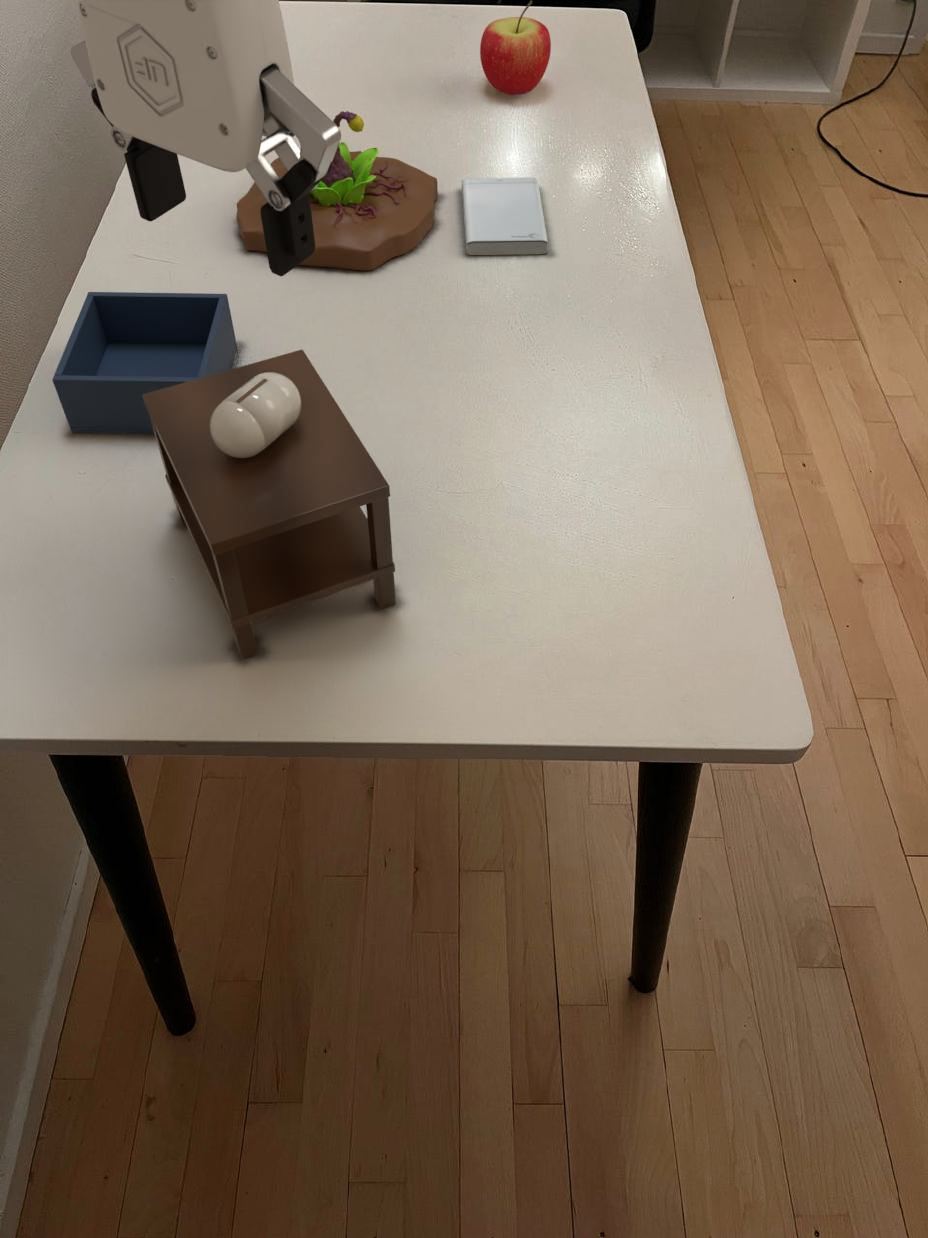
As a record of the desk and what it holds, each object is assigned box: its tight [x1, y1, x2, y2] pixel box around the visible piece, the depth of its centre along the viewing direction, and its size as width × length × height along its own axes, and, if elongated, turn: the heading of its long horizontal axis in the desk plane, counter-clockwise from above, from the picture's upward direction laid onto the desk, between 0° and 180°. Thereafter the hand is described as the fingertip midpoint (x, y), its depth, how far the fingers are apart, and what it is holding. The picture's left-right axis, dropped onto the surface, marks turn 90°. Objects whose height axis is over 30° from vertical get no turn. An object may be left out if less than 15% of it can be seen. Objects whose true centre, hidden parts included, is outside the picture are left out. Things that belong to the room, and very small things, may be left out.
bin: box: [51, 291, 238, 435], centre depth 91 cm, size 12×12×6 cm
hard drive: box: [461, 177, 549, 256], centre depth 110 cm, size 2×8×12 cm
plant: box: [236, 110, 439, 272], centre depth 107 cm, size 20×20×11 cm
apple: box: [479, 0, 552, 96], centre depth 126 cm, size 8×8×10 cm
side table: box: [142, 349, 397, 660], centre depth 76 cm, size 12×16×12 cm
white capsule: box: [210, 372, 301, 458], centre depth 70 cm, size 7×4×4 cm, turn 146°
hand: (227, 235), depth 60 cm, fingers open, 9 cm apart
